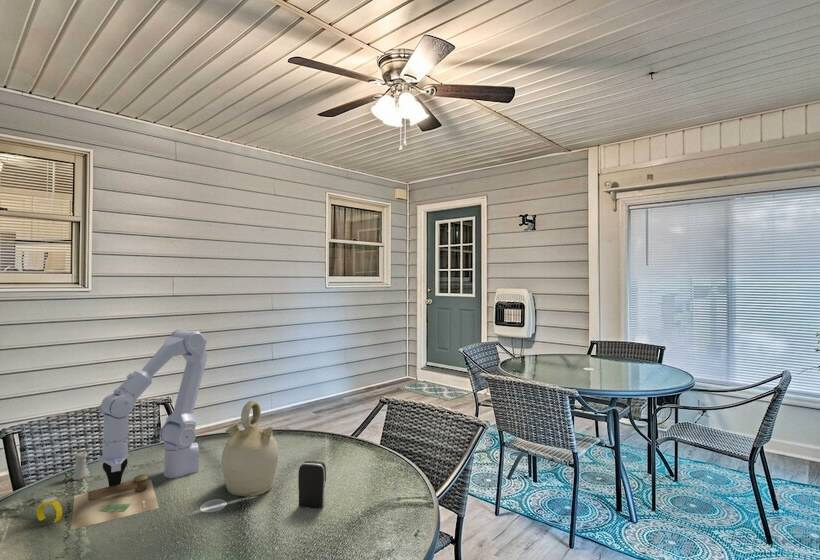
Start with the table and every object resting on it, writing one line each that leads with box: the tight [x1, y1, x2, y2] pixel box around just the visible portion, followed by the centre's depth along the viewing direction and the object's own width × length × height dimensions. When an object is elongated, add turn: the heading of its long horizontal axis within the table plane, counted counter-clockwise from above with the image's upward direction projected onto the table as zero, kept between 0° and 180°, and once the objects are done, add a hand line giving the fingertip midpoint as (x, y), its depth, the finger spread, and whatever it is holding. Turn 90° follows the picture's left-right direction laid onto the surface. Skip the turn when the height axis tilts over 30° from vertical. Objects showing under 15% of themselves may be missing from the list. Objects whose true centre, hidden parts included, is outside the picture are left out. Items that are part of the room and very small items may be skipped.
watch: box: [36, 496, 63, 524], centre depth 107 cm, size 6×3×6 cm, turn 80°
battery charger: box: [297, 460, 327, 509], centre depth 118 cm, size 7×4×11 cm, turn 84°
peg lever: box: [87, 474, 149, 501], centre depth 120 cm, size 14×3×4 cm, turn 133°
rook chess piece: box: [71, 451, 90, 481], centre depth 131 cm, size 4×4×8 cm
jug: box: [221, 400, 279, 499], centre depth 127 cm, size 15×16×25 cm
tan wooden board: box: [70, 479, 160, 531], centre depth 116 cm, size 18×20×1 cm
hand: (114, 488), depth 120 cm, fingers closed, pressing on peg lever
